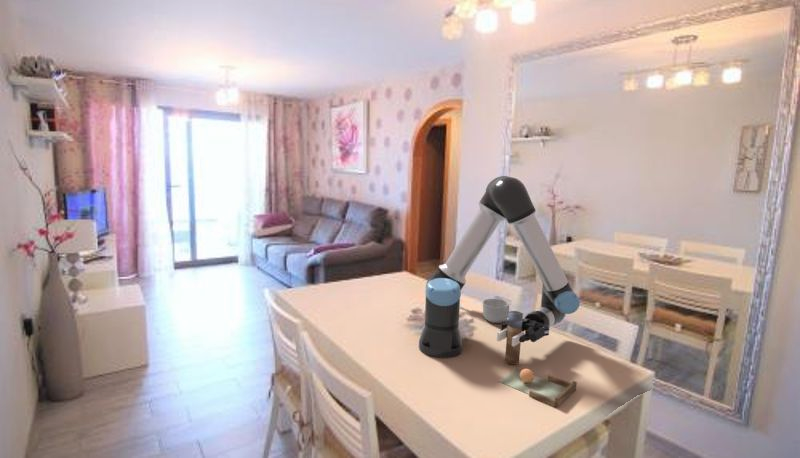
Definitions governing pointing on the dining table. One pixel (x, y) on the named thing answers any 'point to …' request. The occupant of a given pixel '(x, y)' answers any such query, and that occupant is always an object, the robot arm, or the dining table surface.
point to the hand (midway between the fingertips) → (505, 339)
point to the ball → (526, 375)
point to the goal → (542, 388)
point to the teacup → (495, 310)
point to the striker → (513, 330)
